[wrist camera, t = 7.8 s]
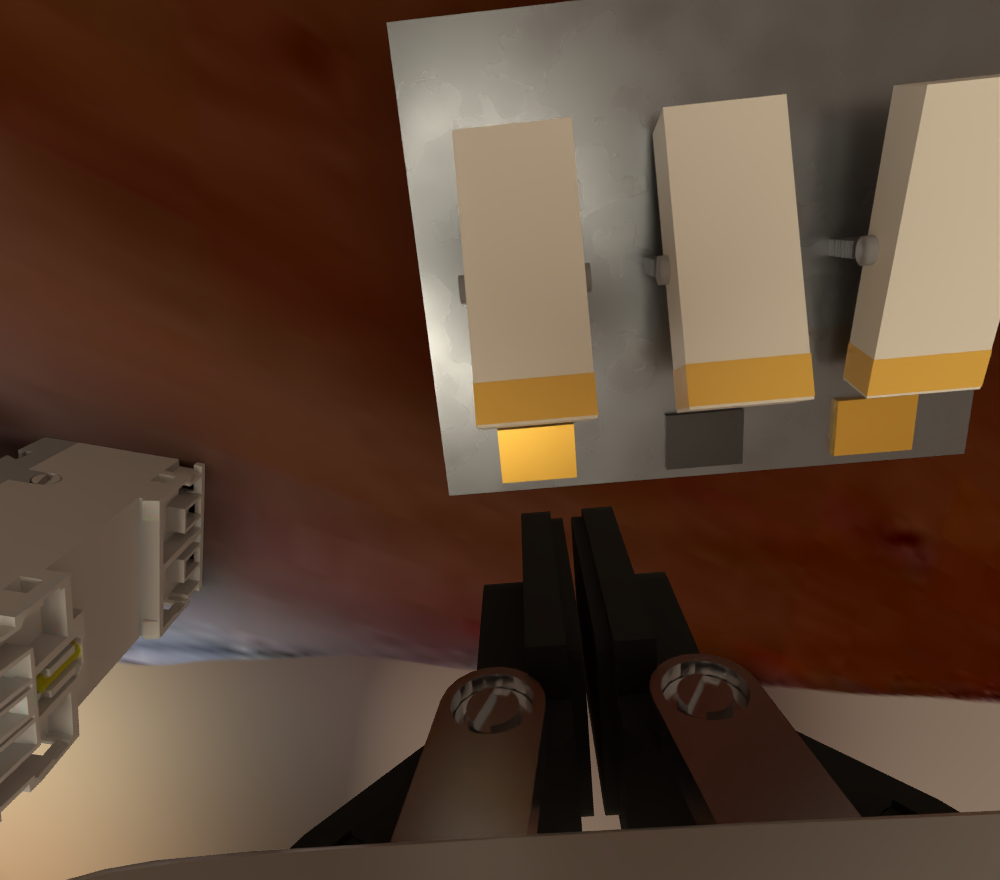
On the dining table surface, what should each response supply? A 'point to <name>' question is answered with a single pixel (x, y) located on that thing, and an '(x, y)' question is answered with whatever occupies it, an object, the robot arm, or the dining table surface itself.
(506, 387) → the block
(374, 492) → the dining table surface
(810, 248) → the console
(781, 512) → the dining table surface
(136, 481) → the circuit breaker
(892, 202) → the block
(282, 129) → the dining table surface
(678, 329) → the rocker
